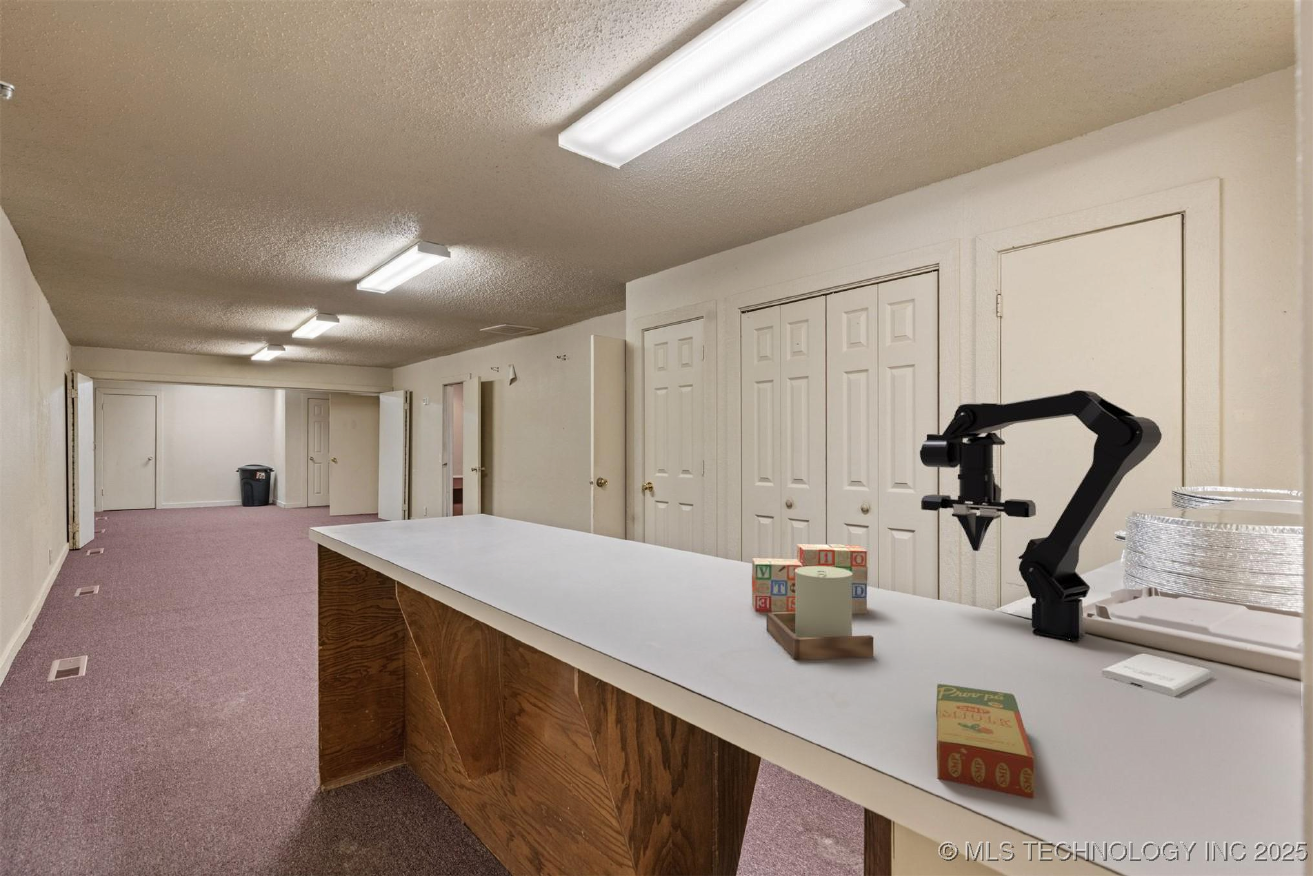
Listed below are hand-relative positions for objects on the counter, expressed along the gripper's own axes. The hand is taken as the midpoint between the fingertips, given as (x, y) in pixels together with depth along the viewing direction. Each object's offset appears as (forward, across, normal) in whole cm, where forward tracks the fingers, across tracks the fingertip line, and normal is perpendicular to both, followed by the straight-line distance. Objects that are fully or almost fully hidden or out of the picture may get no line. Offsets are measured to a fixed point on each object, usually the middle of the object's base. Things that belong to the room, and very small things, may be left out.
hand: (976, 550), depth 116 cm
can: (+12, +13, +36) cm, 40 cm away
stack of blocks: (+12, +25, +19) cm, 34 cm away
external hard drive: (+13, -28, +17) cm, 35 cm away
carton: (+13, -16, +56) cm, 60 cm away
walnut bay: (+12, +13, +36) cm, 40 cm away
